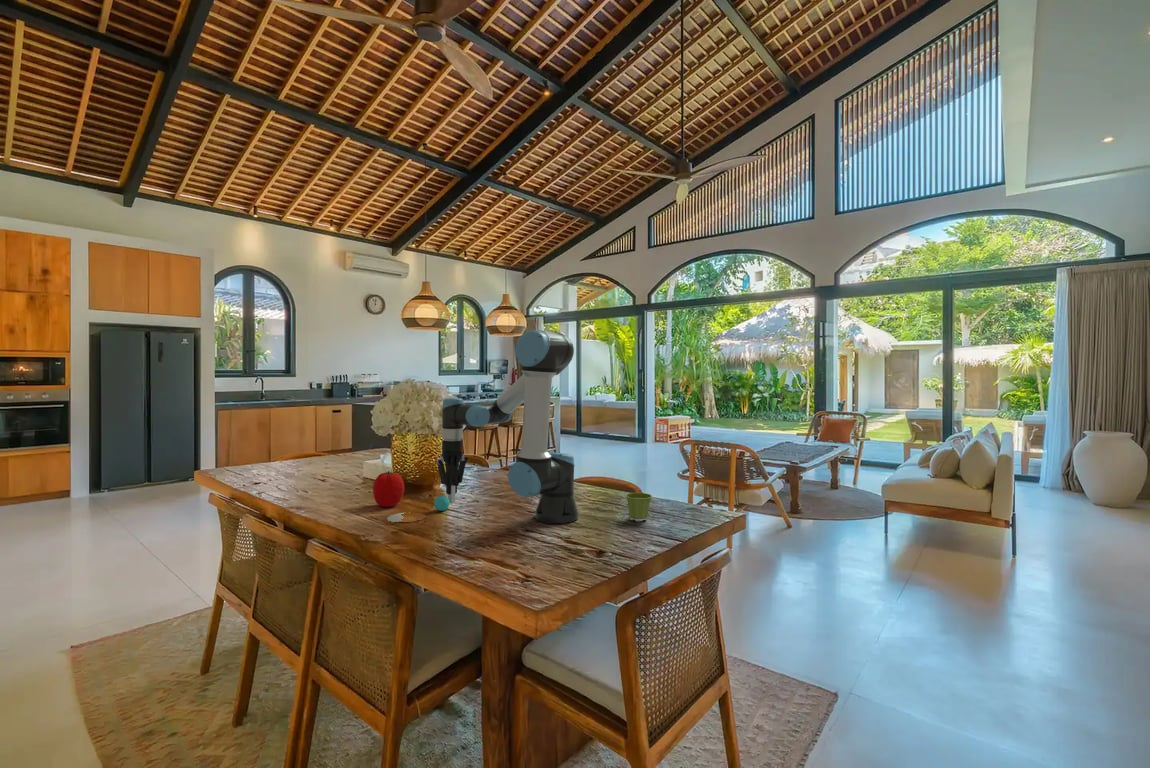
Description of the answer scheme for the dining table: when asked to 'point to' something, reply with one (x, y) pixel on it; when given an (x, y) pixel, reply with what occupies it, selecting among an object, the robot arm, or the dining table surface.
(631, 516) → the plant pot
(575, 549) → the dining table surface
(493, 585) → the dining table surface
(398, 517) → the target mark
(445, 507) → the ball
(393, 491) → the tomato
